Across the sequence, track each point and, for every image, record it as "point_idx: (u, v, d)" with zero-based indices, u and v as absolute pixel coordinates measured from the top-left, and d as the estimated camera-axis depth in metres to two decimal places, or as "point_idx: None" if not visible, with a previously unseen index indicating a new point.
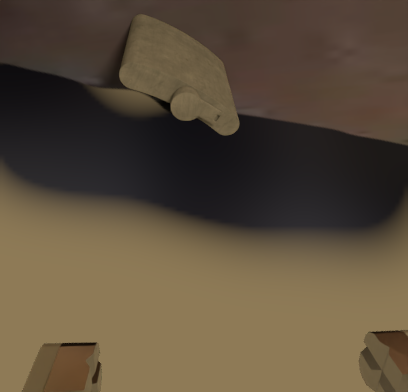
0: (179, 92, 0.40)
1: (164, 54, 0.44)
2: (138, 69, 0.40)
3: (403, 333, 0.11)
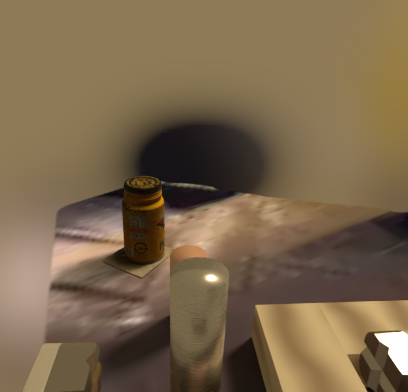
0: None
1: None
2: None
3: (403, 333, 0.11)
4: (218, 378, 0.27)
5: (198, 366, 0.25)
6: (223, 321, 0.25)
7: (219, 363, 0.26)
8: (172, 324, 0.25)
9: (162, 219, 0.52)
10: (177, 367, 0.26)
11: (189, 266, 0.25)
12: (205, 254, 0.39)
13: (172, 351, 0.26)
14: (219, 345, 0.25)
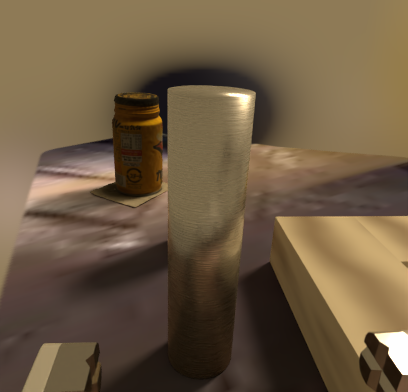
0: None
1: None
2: None
3: (403, 333, 0.11)
4: (236, 263, 0.19)
5: (209, 233, 0.17)
6: (246, 166, 0.17)
7: (238, 238, 0.18)
8: (171, 171, 0.17)
9: (160, 142, 0.44)
10: (177, 242, 0.18)
11: (196, 87, 0.17)
12: None
13: (171, 219, 0.18)
14: (240, 206, 0.17)
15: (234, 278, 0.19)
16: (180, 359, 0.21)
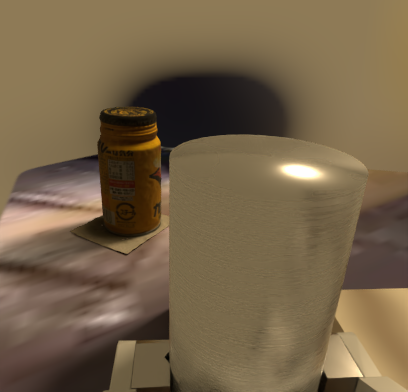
0: None
1: None
2: None
3: (337, 335, 0.10)
4: None
5: None
6: (335, 313, 0.08)
7: None
8: (178, 323, 0.08)
9: (158, 169, 0.35)
10: None
11: (228, 146, 0.08)
12: None
13: None
14: (317, 386, 0.09)
15: None
16: None
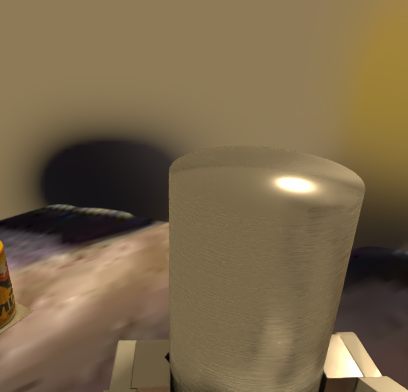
0: None
1: None
2: None
3: (337, 335, 0.10)
4: None
5: None
6: (333, 325, 0.08)
7: None
8: (177, 335, 0.08)
9: None
10: None
11: (227, 158, 0.08)
12: None
13: None
14: None
15: None
16: None
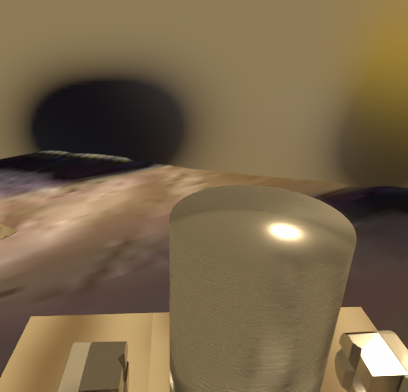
0: None
1: None
2: None
3: (377, 334, 0.11)
4: None
5: None
6: (326, 363, 0.08)
7: None
8: (177, 372, 0.08)
9: None
10: None
11: (225, 201, 0.09)
12: None
13: None
14: None
15: None
16: None
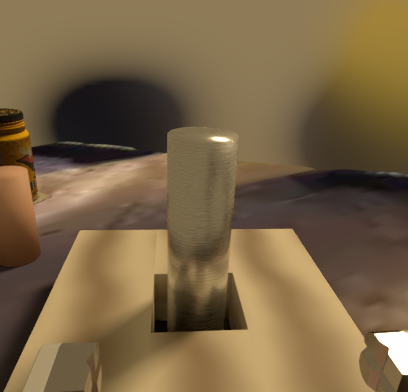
0: None
1: None
2: None
3: (403, 333, 0.11)
4: (224, 274, 0.23)
5: (201, 250, 0.21)
6: (231, 195, 0.21)
7: (226, 253, 0.22)
8: (170, 199, 0.21)
9: (25, 156, 0.46)
10: (175, 257, 0.22)
11: (190, 130, 0.21)
12: (25, 172, 0.34)
13: (170, 237, 0.22)
14: (226, 227, 0.21)
15: (223, 286, 0.23)
16: None
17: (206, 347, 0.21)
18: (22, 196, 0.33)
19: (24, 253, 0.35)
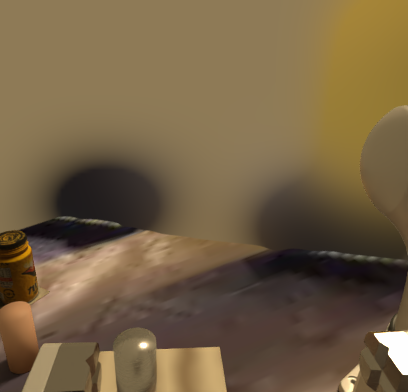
0: None
1: None
2: None
3: (403, 333, 0.11)
4: None
5: None
6: (152, 376, 0.35)
7: None
8: (116, 379, 0.35)
9: (28, 268, 0.60)
10: None
11: (128, 336, 0.35)
12: (28, 310, 0.47)
13: None
14: None
15: None
16: None
17: None
18: (27, 328, 0.47)
19: (28, 364, 0.49)
